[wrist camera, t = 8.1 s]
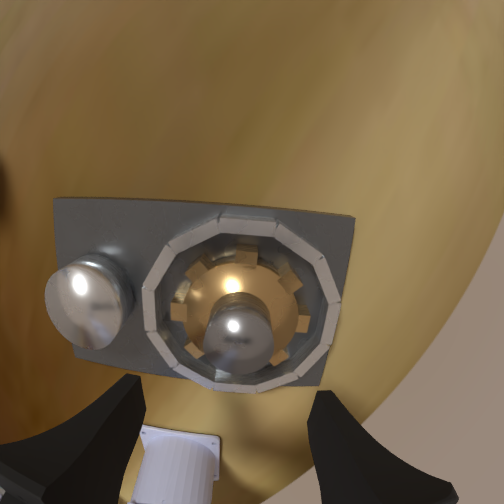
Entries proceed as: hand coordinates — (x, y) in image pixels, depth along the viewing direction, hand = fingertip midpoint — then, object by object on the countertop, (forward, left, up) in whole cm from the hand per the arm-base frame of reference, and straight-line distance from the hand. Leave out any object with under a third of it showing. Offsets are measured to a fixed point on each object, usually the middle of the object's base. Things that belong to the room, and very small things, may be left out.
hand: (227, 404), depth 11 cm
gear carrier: (0, +3, -9) cm, 10 cm away
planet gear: (0, 0, -8) cm, 8 cm away
